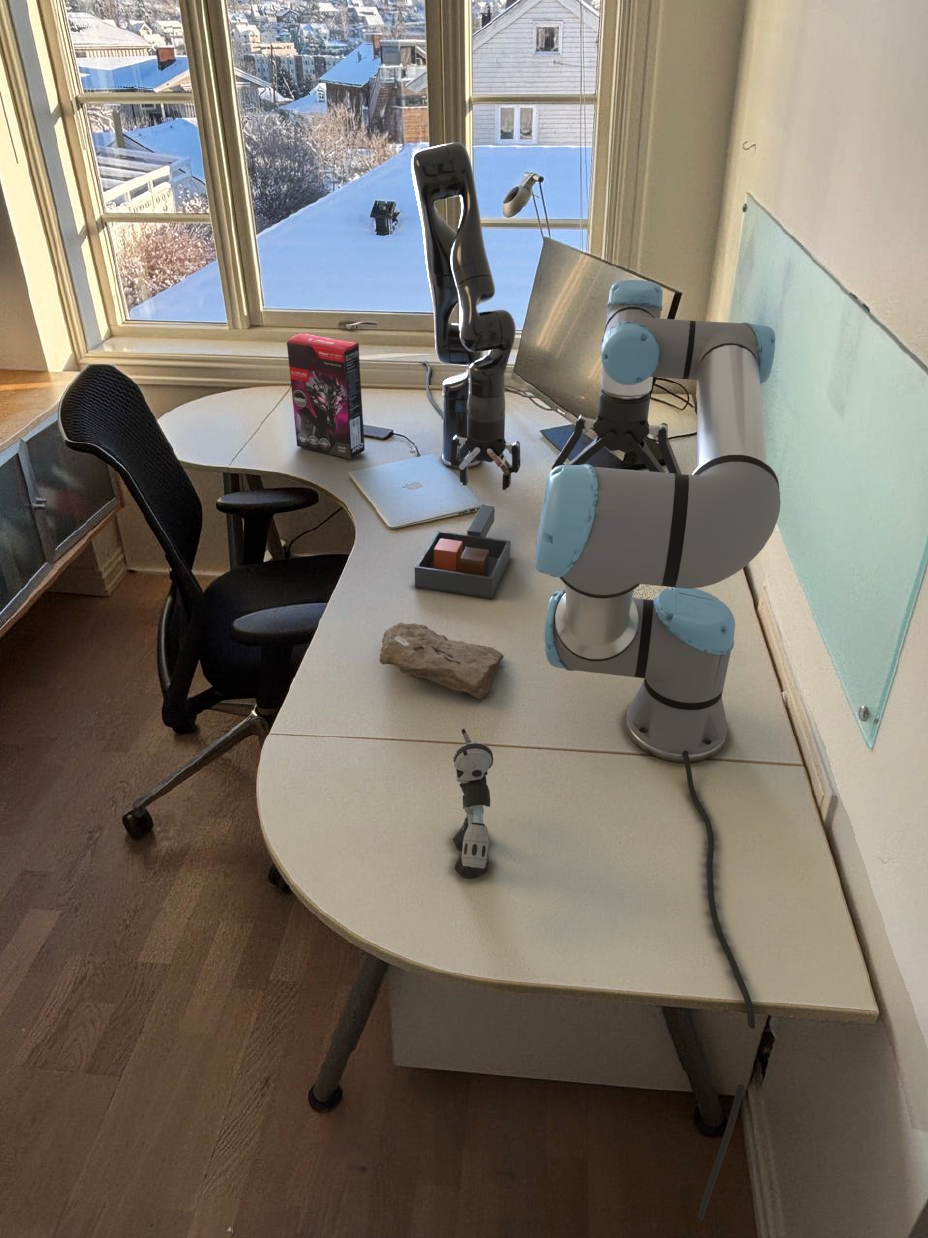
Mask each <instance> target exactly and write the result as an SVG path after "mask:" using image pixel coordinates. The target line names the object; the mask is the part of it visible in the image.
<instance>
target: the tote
mask: <svg viewBox="0 0 928 1238" xmlns="http://www.w3.org/2000/svg"><path fill="white" fill-rule="evenodd" d="M495 511H496V509H495V506H494V505H487V504H481V506H480V507H479V509H478V511H477V513H476V514H475V516H474V518H473V520H472V521H471V523H470V525H469V527H468V528H467V530H466V534H465V533H458V532H452V531H451V532H450V531H444V530H443V531H442V530H437V531H436V532H435V534H434V536H433V537H432V539H431V541H430V542H429V543H428V545H427V547H426V548H425V550H424V552H423V553H422V555H421V556H420V557H419V560H418V561H417V562H416V564H415V565H414V588H415V589H420V590H427V591H434V592H439V593H440V592H441V593H447V594H452V595H453V594H454V595H459V596H460V595H461V596H467V597H471V598H472V597H473V598H481V599H485V600H492V599H493V598H494V595H495V593H496V591H497V589H498V587H499V585H500V582H501V580H502V579H503V576H504V574H505V572H506V570H507V568H508V565H509V563H510V560H511V540H507V539H501V538H493V537H487V535H488V533H489V532H490V530H491V528H492V527H493V524H494V522H495ZM441 538H442V539H449V540H456V541H463V553H464V551H465V549H466V547H470V548H478V549H485V550H489V572H488V577H487V576H480V575H474V574H467V573H460V572H454V571H447V570H440V569H434V548H435V547H436V545H437V543H438V542H439V540H440V539H441Z"/></svg>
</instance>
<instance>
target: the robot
mask: <svg viewBox="0 0 928 1238" xmlns="http://www.w3.org/2000/svg"><path fill="white" fill-rule="evenodd" d="M461 734H462V737H463V739H464V742H465V744H463V745H461V746H460V747H459V748H458V749H457V750H456V751H455V753H454V756H453V757H452V760H453V768H455V772H456V774H455V775H456V781H457V782H458V783H459V786H460V789H461V791H462V793H463V794H462V809H464V812H465V814H466V817H465V818H464V821H463V823H462V826H461V827H460V829H459V830H458V831H457V833H456V834H455V835H454V837H453V838H452V841H453V843H454V846H455V847H456V849H457V850H459V851H460V853H459V855H458V858H457V859H456V863H455V865H454V870H455V871H456V872H457V873H458V874H459V875H460V876H461V877H464V878H468V879H472V878H477V877H479V876H481V875H483V874H486V873H487V872H488V867H489V863H490V862H489V848H490V834H489V831H488V826H486V824H485V823H484V818H483V817H484V816H483V815H484V813H485V812H484V810H485V809H484V806H485V807H487V808H491V792H490V788H489V785H488V784H487V775H488V771H489V769H491V768H492V766H493V764H494V755H493V751H492V750H491V749H490V747H488V746H487V745H486V744H484V743H482V742H479V741H476V740H475V741H472V740H471V738H470V736H469V735H468V733H467V730H466V729H465V728H462V729H461Z"/></svg>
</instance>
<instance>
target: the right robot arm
mask: <svg viewBox="0 0 928 1238" xmlns="http://www.w3.org/2000/svg"><path fill="white" fill-rule="evenodd" d="M663 296H664V291H663V289H662V287H661V286H660V285H659V284H658V283H656V282H654V281H649V280H643V279H625V280H619V281H617V282H614V283H613V284H612V285H611V287H610V289H609V295H608V301H607V304H606V308H607V310H606V311H607V312H606V320H605V326H604V334H603V337H602V339H601V345H600V357H601V375H600V376H601V377H600V388H601V390H600V391H599V398H598V408H597V417H596V419H595V418H594V419H593V418H590V417H589V418H588V417H587V416H586V415H585V414H582V413H581V414H579V416H578V417H577V419H576V422H575V426H574V430H573V432H572V433H571V436H569V438H568V440H567V441H566V443H565V444H564V446H563V448H562V449H561V450H560V453H558V455H557V457H556V458H555V460H554V462H553V464H552V466H551V470H550V472H549V474H548V476H547V480H546V483H545V488H544V495H543V496H544V497H543V501H542V506H541V511H540V517H539V518H540V519H539V524H538V531H537V536H536V537H537V538H536V546H535V554H534V555H535V556H534V559H535V560H534V561H535V562H534V567H535V570H536V571H538V572H539V573H541V574H544V575H549V576H550V577H552V578H559V579H560V581H561V582H562V583H563V584H564V589H563V590H561V589H560V590H559V589H558V590H556V591H554V592H553V593H552V595H551V597H550V598H549V601H548V604H547V609H546V614H545V622H544V643H545V646H544V652H545V657H546V659H547V662H548V664H549V665H551V666H552V667H554V668H556V669H557V668H558V669H564V670H565V671H568V672H575V671H577V672H583V673H593V674H602V675H612V676H620V677H629V678H638V679H643V682H642V684H641V685H640V688H639V689H638V691H637V692H636V694H635V695H634V697H633V699H632V701H631V702H630V704H629V706H628V708H627V712H626V719H625V728H626V732H627V734H628V736H629V738H630V739H631V741H632V742H634V744H636V745H637V746H638V747H639V748H640V749H641V750H643V751H645V752H646V753H648V754H650V755H651V756H654V757H656V758H659V759H662V760H666V761H670V762H675V763H684V766H685V773H686V780H687V781H686V782H687V787H688V791H689V794H690V797H691V799H692V802H693V804H694V805H695V808H696V810H697V811H698V813H699V815H700V816H701V818H702V821H703V823H704V826H705V829H706V834H707V835H706V836H707V851H706V852H707V853H706V885H707V901H708V907H709V912H710V916H711V920H712V924H713V927H714V928H713V929H714V931H715V934H716V936H717V939H718V941H719V943H720V947H721V948H722V951H723V952H724V955H725V957H726V959H727V961H728V963H729V966H730V968H731V971H732V973H733V976H734V978H735V981H736V984H737V986H738V989H739V990H740V993H741V996H742V999H743V1001H744V1004H745V1005H744V1006H745V1011H746V1018H747V1027H748V1028H750V1029H755V1028H756V1019H755V1012H754V1006H753V1001H752V998H751V995H750V993H749V990H748V988H747V985H746V983H745V981H744V979H743V976H742V973H741V971H740V968H739V966H738V963H737V961H736V959H735V957H734V954H733V952H732V950H731V948H730V946H729V944H728V941H727V938H726V937H725V934H724V932H723V930H722V926H721V924H720V919H719V916H718V912H717V907H716V898H715V887H714V869H713V868H714V867H713V866H714V853H715V851H714V850H715V837H714V831H713V826H712V823H711V821H710V818H709V816H708V813H707V812H706V810H705V809H704V807H703V806H702V803H701V802H700V799H699V797H698V795H697V793H696V790H695V786H694V785H695V784H694V779H693V772H692V765H691V763H694V762H700V761H703V760H706V759H709V758H711V757H714V755H716V754H718V752H720V751H721V750H722V748H723V747H724V744H725V743H726V740H727V739H726V738H727V733H728V721H727V716H726V712H725V708H724V707H725V706H724V701H723V692H724V686H725V682H726V678H727V677H726V676H727V672H728V668H729V663H730V658H731V654H732V651H733V649H734V646H735V631H736V620H735V619H736V618H735V617H734V614H733V612H732V610H731V609H730V607H728V605H727V604H726V603H724V602H723V601H722V600H720V599H719V598H718V597H717V596H715V595H713V594H711V593H709V592H707V591H704V590H702V589H699V588H705V587H709V586H712V585H715V584H718V583H720V582H722V581H724V580H726V579H728V578H730V577H732V576H734V575H735V574H737V573H739V572H740V571H741V570H743V569H744V568H745V567H746V566H747V565H749V563H751V562H752V561H753V560H754V559H755V558H756V557H757V556H758V555H759V554H760V553H761V551H762V550H763V549H764V547H765V546H766V545H767V543H768V541H769V540H770V538H771V536H772V534H773V533H774V531H775V527H776V525H777V523H778V519H779V516H780V512H781V491H780V483H779V479H778V475H777V473H776V472H775V470H774V468H773V467H772V466H770V464H768V458H767V457H768V456H767V447H766V436H765V426H764V425H765V423H764V414H763V401H762V391H761V390H762V389H761V384H764V383H766V382H767V381H768V380H769V378H770V375H771V372H772V369H773V364H774V359H775V352H776V334H775V331H774V329H773V327H770V326H768V325H761V324H753V323H750V322H747V321H744V322H723V321H707V320H706V321H702V320H687V319H674V318H673V319H672V318H661V317H662V311H663ZM654 378H658V379H659V378H662V379H673V380H674V379H675V380H689V381H690V380H691V381H697V382H696V469H695V470H694V471H693V473H692V474H686V473H685V474H684V473H682V472H681V469H680V466H679V464H678V460H677V458H676V455H675V453H674V450H673V447H672V445H671V442H670V439H669V426H668V423H666V422H662V423H660V424H659V425H650V424H649V420H648V419H649V412H650V405H651V404H650V403H651V396H652V395H651V393H650V392H651V391H652V389H653V381H654V380H653V379H654ZM590 429H592V430H594V433H595V434H596V435H597V436H596V437H595V438H594V439H593V441H592V442H590V443H589V444H588V445H587V446H586V447H585V448H584V449H582V451H580V452H579V453H578V454H577V455H576V456H575V457H574V458H573V459H572V460H570V462H568V463H567V464H565V462H566V461H567V459H568V458H569V456H570V454H571V453H572V451H573V450H574V448H575V447H576V445H577V443H578V442H579V441H580V439H581V437H582V435H583V434H586V433H588V432H589V430H590ZM649 435H651V436H652V438H653V440H654V441H656V442H657V443H658V448H659V450H660V453H661V456H662V458H663V462H664V463H665V467H666V469H667V471H668V472H666V471H665V469H664V468H663V466H662V465H661V463H660V462H659V461H658V459H657V458H656V457H655V455H654V453H652V451H651V450H650V448H649V446H648V444H647V442H646V441H645V439H646V438H647V437H648V436H649ZM603 448H605V449H607V450H608V451H612V452H615V451H619V452H622V453H629V452H632V451H633V452H634V454H635V455H636V456H637V458H639V459H640V461H641V462H642V463H643V465H644V466H645V467H646V469H647V470H638V469H637V470H636V469H626V468H625V469H623V468H613V467H612V468H610V467H598V466H593V465H591V464H589V463H586V462H587V461H589V460H590V459H591V458H592V457H594V455H595V454H596V453H598V452H600V451H601V450H602V449H603ZM640 585H646V586H655V587H656V586H657V587H667V588H665V589H662V590H661V591H659V592H658V593H657V595H656V597H655V598H654V599H648V598H640V597H634V591H635V589H637V588H638V587H640ZM744 1091H745V1085H744V1084H739V1083H737V1085H736V1090H735V1094H734V1098H733V1102H732V1106H731V1110H730V1114H729V1117H728V1121H727V1124H726V1127H725V1130H724V1133H723V1137H722V1140H721V1143H720V1146H719V1149H718V1152H717V1155H716V1158H715V1159H714V1160H715V1161H714V1164H713V1167H712V1169H711V1172H710V1174H709V1178H708V1181H707V1183H706V1184H707V1185H706V1187H705V1190H704V1193H703V1197H702V1200H701V1202H700V1206H699V1210H698V1213H697V1219H698V1220H699V1221H703V1220H704V1218H705V1213H706V1211H707V1207H708V1205H709V1201H710V1199H711V1195H712V1192H713V1189H714V1186H715V1183H716V1181H717V1178H718V1175H719V1172H720V1170H721V1166H722V1165H723V1161H724V1158H725V1156H726V1152H727V1151H728V1150H727V1149H728V1146H729V1144H730V1141H731V1138H732V1134H733V1131H734V1128H735V1125H736V1121H737V1117H738V1114H739V1111H740V1107H741V1102H742V1098H743V1094H744Z"/></svg>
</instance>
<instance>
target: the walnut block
mask: <svg viewBox="0 0 928 1238" xmlns="http://www.w3.org/2000/svg"><path fill="white" fill-rule="evenodd" d="M488 572H489V550H485V549H478V548H470V547H466V549H465V551H464V553H463V554H462V556H461V558H460V573H467V574H474V575H480V576H487V577H488Z"/></svg>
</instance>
